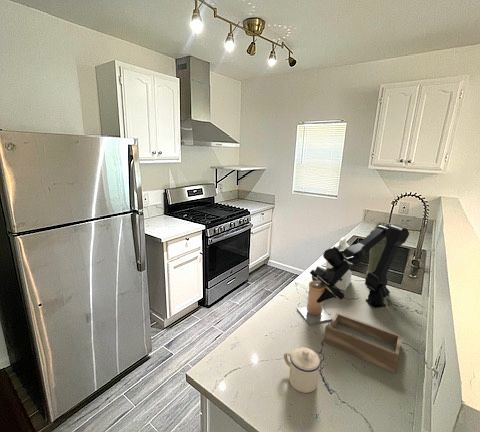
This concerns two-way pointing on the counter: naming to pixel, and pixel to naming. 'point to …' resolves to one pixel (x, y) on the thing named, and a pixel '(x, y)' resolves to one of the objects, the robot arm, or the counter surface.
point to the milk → (347, 276)
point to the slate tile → (313, 316)
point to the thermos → (376, 252)
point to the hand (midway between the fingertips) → (312, 297)
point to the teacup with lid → (303, 369)
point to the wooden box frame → (363, 342)
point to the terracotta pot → (315, 297)
